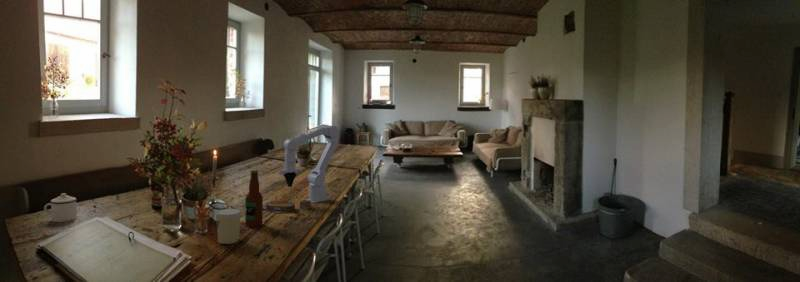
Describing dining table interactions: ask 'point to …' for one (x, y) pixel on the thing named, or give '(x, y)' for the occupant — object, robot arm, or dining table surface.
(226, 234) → the coffee cup
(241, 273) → the dining table surface
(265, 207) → the mat
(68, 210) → the teacup with lid
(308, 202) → the walnut block
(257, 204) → the bottle
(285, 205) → the tin
